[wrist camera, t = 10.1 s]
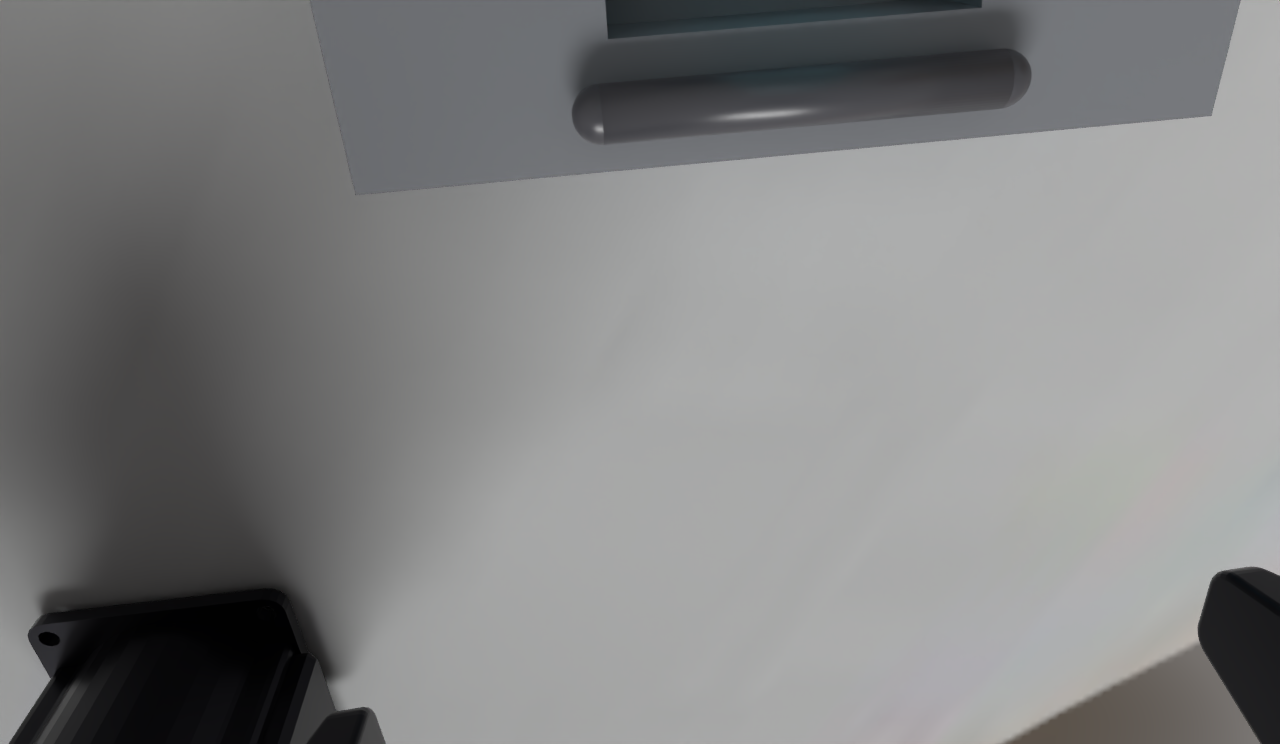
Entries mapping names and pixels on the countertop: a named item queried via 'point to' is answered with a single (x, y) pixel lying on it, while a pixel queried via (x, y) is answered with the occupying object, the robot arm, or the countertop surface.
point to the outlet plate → (739, 78)
